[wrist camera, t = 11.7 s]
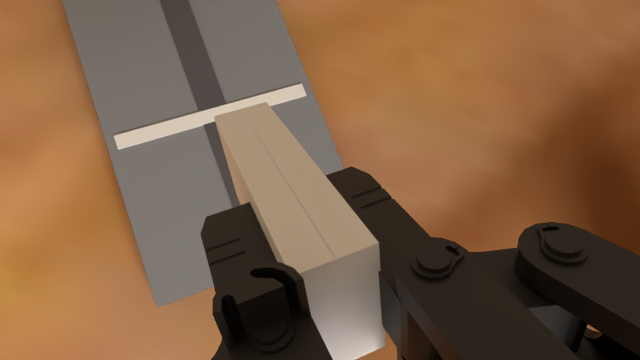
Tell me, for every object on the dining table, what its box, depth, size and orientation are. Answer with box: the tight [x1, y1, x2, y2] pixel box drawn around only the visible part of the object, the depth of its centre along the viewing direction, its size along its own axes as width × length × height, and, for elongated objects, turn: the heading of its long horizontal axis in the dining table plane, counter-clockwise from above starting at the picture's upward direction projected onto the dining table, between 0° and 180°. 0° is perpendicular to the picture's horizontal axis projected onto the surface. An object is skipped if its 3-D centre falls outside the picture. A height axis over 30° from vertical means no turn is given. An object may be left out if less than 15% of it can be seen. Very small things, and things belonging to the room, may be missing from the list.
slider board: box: [62, 0, 344, 307], centre depth 27 cm, size 32×12×2 cm, turn 21°
